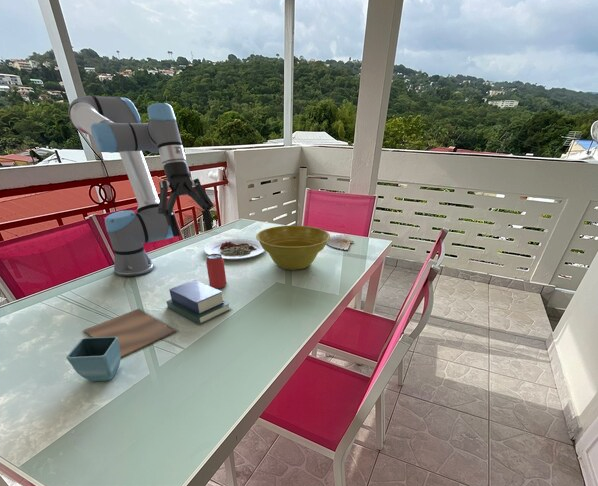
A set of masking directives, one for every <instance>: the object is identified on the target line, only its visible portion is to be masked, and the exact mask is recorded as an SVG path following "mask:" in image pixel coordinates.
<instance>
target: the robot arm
mask: <svg viewBox="0 0 598 486" xmlns="http://www.w3.org/2000/svg"><path fill="white" fill-rule="evenodd" d="M146 109H147V110H146V112H147V117H148V119H149V122H141V116H140V114H139V112H138V109H137V108H136V106H135V104H134V102H133V101H132V100H130V99H129V98H127V97H123V96H121V97H120V96H97V95H83V96H79V97H77V98H75V99H74V100H72V101H71V103H70V104H69V106H68V110H67V113H68V118H69V120H70V123H72V125H73V126H74V127H75V128H76V129H77V130H78V131H79V132H81V133H82V134H86V135H89V136H91V137H92V140H93V142H94V145H95V147H96V148H97V150H98V151H99V152H102V153H109V154H110V153H111V154H113V153H119V156H120V158H121V162H122V163H123V167H124V169H125V172H126V175H127V178H128V180H129V183H130V186H131V188H132V191H133V194H134V196H135V199H136V202H137V204H138V206H137V208H136V212H137V213H135V211H134V210H130V209H127V210H120V211H116V212H112V213H110V214H108V215H107V216H106V217H105V218H104V225H105V229H106V232H107V235H108V238H109V241H110V244H111V247H112V250H113V254H114V262H113V263H114V265H113V268H114V272H115V274H116V275H117V276H120V277H127V278H129V277H138V276H142V275H146V274H149V273H150V272H151V271H153V270H154V264H153V262H152V260H151V258H150V257H149V255H148V254H147V252H146V250H145V247H144V244H148V243H154V242H159V241H166V240H168V239H173V238H175V237H179V236H181V234H180V231H179V227H178V224H177V220H176V217H175V214H174V213H173V210H174V207H175V205H176V201H177V198H178V197H180V196H188V197H190V198H191V199H192V200H193V201H194V202H195V203H196V204H197V205H198V206H199V207H200V208H201V209H202V210H201V214H202V217H203V221H204V225H205V230H206V231H211V230H213V229H214V228H213V225H212V214H211V209H212V208H213V207H214V203H213V202H212V200H211V198H210V197H209V196H208V194H207V192H206V191H205V189H204V188H203V186H202V183H201V181H200V178H195V179H192V178H191V172H190V169H189V165H188V163H187V157H186V154H185V153H186V152H185V150H184V146H183V143H182V139H181V135H180V130H179V127H178V121H177V118H176V115H175V112H174V109H173V107H172V106H171V105H170V104H169V103H166V102H157V103H156V102H155V103H152V104H149V105H148V106H147V108H146ZM145 151H146V152H149V153H152V154H157V153H159V157H160V161H161V164H163V171H164V174H165V177H166V178H167V179H166V180H165V179H164V180H161V181H159V182H158V184H159V190H160V191H159V194H158V192H157V190H156V187H155V184H154V181H153V178H152V176H151V173H150V171H149V170H150V169H149V167H148V164H147V162H146V159H145V156H144V153H143V152H145ZM169 189H170V190H171V191H170V192H169ZM168 193H169V197H168ZM158 195H159V196H158Z"/></svg>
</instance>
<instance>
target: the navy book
mask: <svg viewBox="0 0 598 486" xmlns="http://www.w3.org/2000/svg"><path fill="white" fill-rule="evenodd" d="M168 291H169V294H170V300H171V299H172V301H173V302H174V303H176V304H178V305H180V306H182V307H184V308H186V309H188V310H190V311H192V312H194V313H196V314H198V315H200V314H202V313H204V312H206V311H208V310H211V309H213V308H215V307H217V306H219V305H222V304H224V303H223V301H224V300H223V291H222V290H220V289H218V288H213V287H211V286H210V285H209V284H205V283H204V282H200V281H199V280H197V279H194V280H191V281H188V282H185V283H182V284H180V285H176V286H174V287H171V288H169V289H168Z"/></svg>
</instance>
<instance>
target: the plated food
mask: <svg viewBox="0 0 598 486" xmlns="http://www.w3.org/2000/svg"><path fill="white" fill-rule="evenodd" d="M264 252H266V251H265V250H264V249H263V248H262V246H261V244H260V242H259V241H258V240H257V239H249V238H230V239H229V238H227V239H221V240H217V241H213V242H211V243H209V244H207V245H206V246H205V247H204V253H205V254H206V255H207V256H208V255H210V254H220V255H222V258H223V260H232V261H233V260H245V259H249V258H253V257H257V256H260V255H261V254H263V253H264Z"/></svg>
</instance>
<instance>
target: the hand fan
mask: <svg viewBox="0 0 598 486" xmlns="http://www.w3.org/2000/svg"><path fill="white" fill-rule="evenodd" d="M352 243H354V240H351V239H350V238H349V237H348V236H347V234H345V233H343V234H336V235H330V239H329V240H328V241H327V242H326V245H328V246H329V247H331V248H334V249H337V250H339V249H340V250H345V251H348V250H349V247H350V245H351V244H352Z"/></svg>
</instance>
